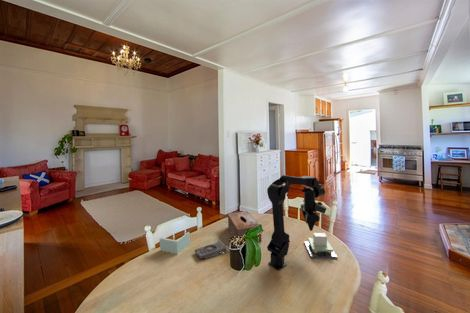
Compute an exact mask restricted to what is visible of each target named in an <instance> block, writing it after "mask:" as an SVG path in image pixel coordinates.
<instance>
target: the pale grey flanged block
mask: <svg viewBox="0 0 470 313" xmlns="http://www.w3.org/2000/svg"><path fill="white" fill-rule="evenodd" d="M307 242H309V243H310V245H311V248H312V250H313V251H327V252H333V251H334V248H333V247H332V245H331V243H330V242H329V240H328V237H327V234H326V233H325V232H313V236H312V237H308V238H307Z"/></svg>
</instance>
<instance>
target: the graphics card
mask: <svg viewBox="0 0 470 313" xmlns="http://www.w3.org/2000/svg"><path fill="white" fill-rule="evenodd" d="M220 252H221V253H220ZM223 252H224V253H225V254H227V253H228V252H230V251H229V246H228V245H226V244H224V242H222V241H221V240H220V239H219V238H217V242H214V243H212V244H208V245H207V244H206V246H201V247H199V248H197V249H194V253H196V256H197V257H198V258H199V259H203V258H204V259H208V258H212V257H213V256H214V257H213V258H215V257H218V256H222V255H224V254H223ZM226 252H227V253H226Z"/></svg>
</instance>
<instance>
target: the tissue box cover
mask: <svg viewBox="0 0 470 313" xmlns="http://www.w3.org/2000/svg"><path fill="white" fill-rule="evenodd" d="M227 225H228V229H229V231H230V230H231V231H230V233H231V232H232V233H231V235H232V234H233V235H232V237H233V236H243V235H244V234H245V233H246V231H247V230H248V229H252V228H254V227H256V226H258V225H261V224H260V223H259V222H258V220H256V219H255V217H254V216H253V215H252V214H251V213H250V212H249V211H247V210H245V211H238V212H231V213H230V212H229V213H227ZM258 237H259V242H258V243H261V242H263V241H262V233H261V234H259V235H258Z"/></svg>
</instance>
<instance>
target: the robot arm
mask: <svg viewBox="0 0 470 313" xmlns="http://www.w3.org/2000/svg"><path fill="white" fill-rule="evenodd" d="M283 184H285V185H284V186H282V185H283ZM291 185H297V186H298V185H299V186H303V189H301V193H303V200H302V202H303V203H302V204H301V205H300V211H301V213H302V216H303V218H304V220H305V223H306V224H307V226H308V229H309V232H312V231H313V229H314V227H315V224H316V223H317V222H320V221H321V220H320V215H319V214H318V213H322V214H323V215H325V214H326V211H327V210H328V209H327V207H326V206H325V205H323V202H321V201H317V202H316V199H317V198H320V197H324V196H325V194H326V190H325V188H324V187H323V184H320V183H319V181H318V179H317V177H315V176H309V175H302V176H294V175H293V176H292V175H286V174H282V175H281V176H280V177H279V178H278V179H276V180H274V181H273V182H272V183H271V184H269V186H268V187H267V190H266V193H267V197H268V200H269V202H271V208H272V219H273V220H272V221H273V232H272V234H271V239H270V241H269V243H268V244H267V247H266V248H267V251H269V252H270V261H269V262H268V263H267V264H268V265H269V266H270V267H272V268H274V269H275V270H277V271H279V270H280V269H283V268H284V267H286V266H288V264H287V262H285V257H286V256H287V255H288V252H289V248H290V243H291V241H290V235H289V233H286V231H285V220H284V217H285V216H284V204H283V203H284V202H285V200H286V196H287V193H288V192H289V191H290V188H291ZM317 212H318V213H317Z"/></svg>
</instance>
